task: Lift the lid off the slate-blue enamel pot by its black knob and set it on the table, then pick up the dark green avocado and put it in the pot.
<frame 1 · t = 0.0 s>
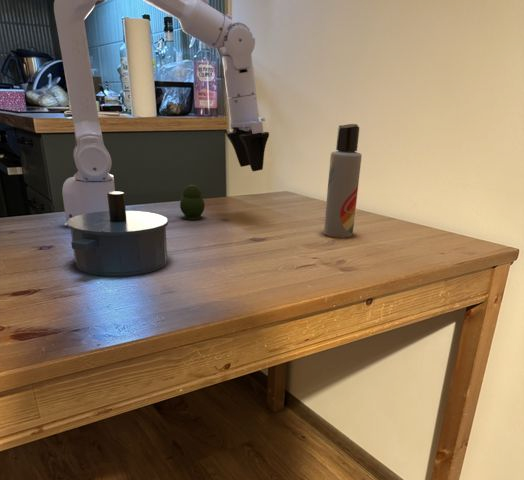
hand: (251, 168, 104), 11 cm above the table, tool pointing down, fingers open, 7 cm apart
pot lid: (118, 223, 75), point 6 cm above the table, touching pot
lotion bottle: (337, 235, 99), on the table
avocado: (192, 218, 108), on the table
pot: (122, 262, 77), on the table
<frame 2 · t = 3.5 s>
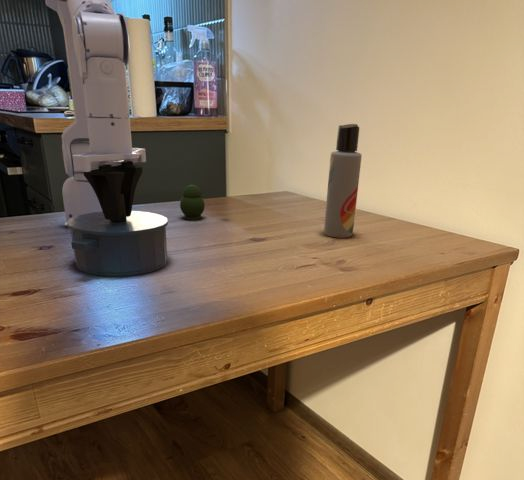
hand: (118, 217, 74), 7 cm above the table, tool pointing down, fingers closed on pot lid, 2 cm apart
pot lid: (118, 223, 75), point 6 cm above the table, touching gripper, pot
everything else where it was.
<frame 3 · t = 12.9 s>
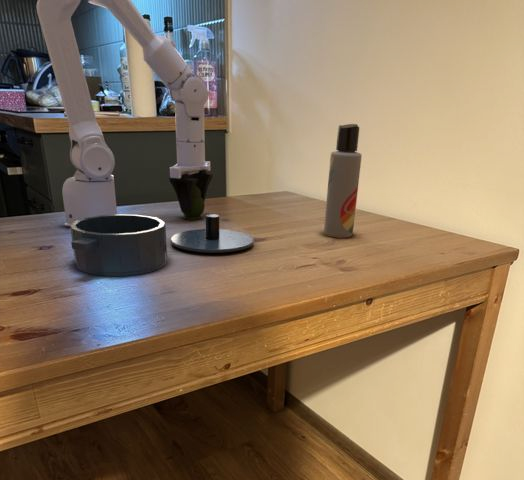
hand: (192, 209, 107), 2 cm above the table, tool pointing down, fingers closed on avocado, 5 cm apart
pot lid: (212, 241, 88), point 1 cm above the table
avocado: (192, 218, 108), on the table, touching gripper
everything else where it was.
when the fingers open (2 cm above the table, at t = 20.1 s): avocado stays where it is, resting on pot.
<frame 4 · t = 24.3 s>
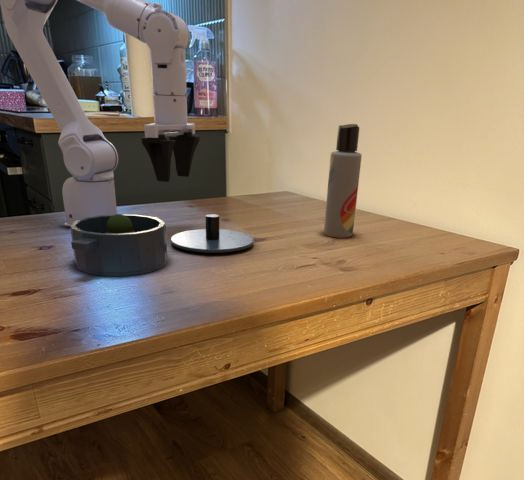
hand: (173, 178, 91), 10 cm above the table, tool pointing down, fingers open, 7 cm apart
avocado: (122, 259, 77), resting on pot
everything else where it was.
at the end: pot lid inside the target area (0.1 cm from its centre), point 0.6 cm above the table; avocado inside the target area in the pot (0.1 cm from its centre), point 0.5 cm above the pot's base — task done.
